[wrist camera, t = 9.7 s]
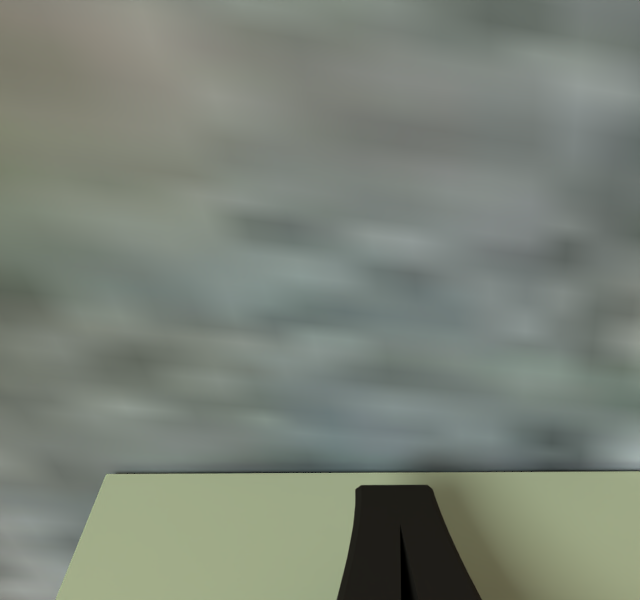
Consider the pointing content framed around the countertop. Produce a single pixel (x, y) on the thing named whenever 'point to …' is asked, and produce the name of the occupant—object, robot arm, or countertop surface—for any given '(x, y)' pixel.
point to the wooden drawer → (336, 528)
